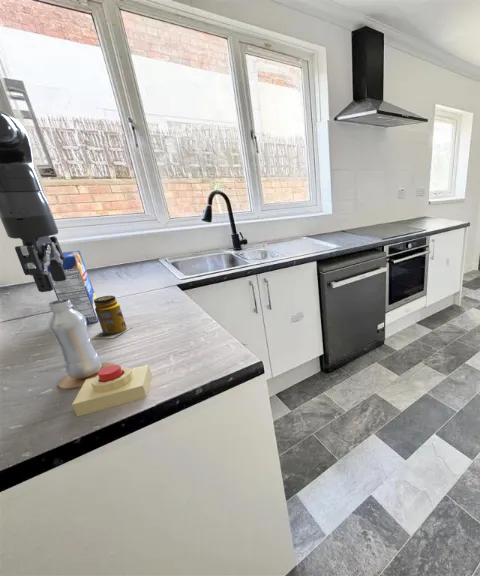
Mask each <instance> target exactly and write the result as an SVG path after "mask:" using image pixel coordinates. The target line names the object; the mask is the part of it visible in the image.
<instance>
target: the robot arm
mask: <svg viewBox="0 0 480 576" xmlns="http://www.w3.org/2000/svg"><path fill="white" fill-rule="evenodd" d="M36 173H37V172H36V171H35V169H34V159H33V153H32V146H31V141H30V138H29V136H28V133H27V131H26V129H25V128H24V125H22V123H21V122H20V121H19V120H18V119H17V118H15V117H13V116H12V115H10V114H9V113H6V112H4V111H1V110H0V221H1V223H2V225H3V228H4V230H5V233H6V235H7V237H8V238H9V239H16V240H18V239H19V240H21V243H22V245H18V246H14V250H15V253H16V255H17V258H18V261H19V263H20V266H21V268H22V271H23V274H24V275H25V276H31V277H32V278H33V280H34V283H35V286H36V287H37V290H38V292H40V293H46V292H52V291H54V287H53V285H52V282H51V280H50V277H49V274H48V270H47V266H49V270H50V273H51V275H52V278H53V280H54V281H55V282H58V281H65V280H66V279H67V277H66V274H65V272H64V269H63V266H62V265H63V260H65V258H64V256H63V253H62V252H63V250H62V248H61V246H60V243H59V240H58V237H57V236H56V235H57V234H59V229H58V226H57V224H56V221H55V218H54V215H53V213H52V210H51V207H50V204H49V201H48V199H47V198H46V196H45V193H44V192H43V190H42V187H41V184H40V182H39V178H38V175H37V174H36Z"/></svg>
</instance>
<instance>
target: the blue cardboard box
mask: <svg viewBox="0 0 480 576" xmlns="http://www.w3.org/2000/svg"><path fill="white" fill-rule="evenodd" d="M62 253H63V256H64V258H65V260H63V265H62V266H63V269H64V272H65V274H66V277H67V279H66V280H65V281H58V282H55V281H54V280H53V278H52V275H51V273H50V270H49V266H47V270H48V274H49V277H50V280H51V282H52V285H53V287H54V289H53V291H54V293H55V296H56V300H61V299H69V300H70V302H71V304H72V305H73V307H72V309H74V310H76V311H78V312H79V313H81V314H83V316H84V317H85V319H86V324H87V325H90V324H94V323H95V324H96V323H98V322H99V319H98V317H97V314H96V311H95V308H96V306H95V303H94V300H95V299H96V298H97V296H96V293H95V290H94V287H93V285H92V282H91V278H90V276H89V273H88V270H87V268H86V265H85V262H84V259H83V256H82V252H81V250H73V251H72V250H71V251H62Z"/></svg>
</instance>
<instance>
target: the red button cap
mask: <svg viewBox="0 0 480 576" xmlns="http://www.w3.org/2000/svg"><path fill="white" fill-rule="evenodd" d="M121 367H122V366H121V365H120V364H115V365H111V366H108V367H105V368H103V369H101V370H100V371H99V372H98V376H99V379H100V381H101V382H108V381H112V380H115V379H117V378H119V377H120V376H122V375H123V372H122V369H121Z"/></svg>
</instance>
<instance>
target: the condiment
mask: <svg viewBox="0 0 480 576" xmlns="http://www.w3.org/2000/svg"><path fill="white" fill-rule="evenodd" d="M94 303H95V306H96V308H95V311H96V314H97V317H98V319H99V320H98V322H99V325H100V328H101V332H99V333H97V334H96V335H94V336H91V339H99V340H102V339H104V340H105V339H114V338H116V337H119V335H122V334H123V333H125V332H127V331H128V330H131V329H132V328H133V327H134V325H129V326H127V324H126V321H125V317H124V315H123V312H122V309H121V306H120V304H119V302H118V300H117V299H116V296H115V295H104V296H99V297H96V299H95V300H94Z"/></svg>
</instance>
